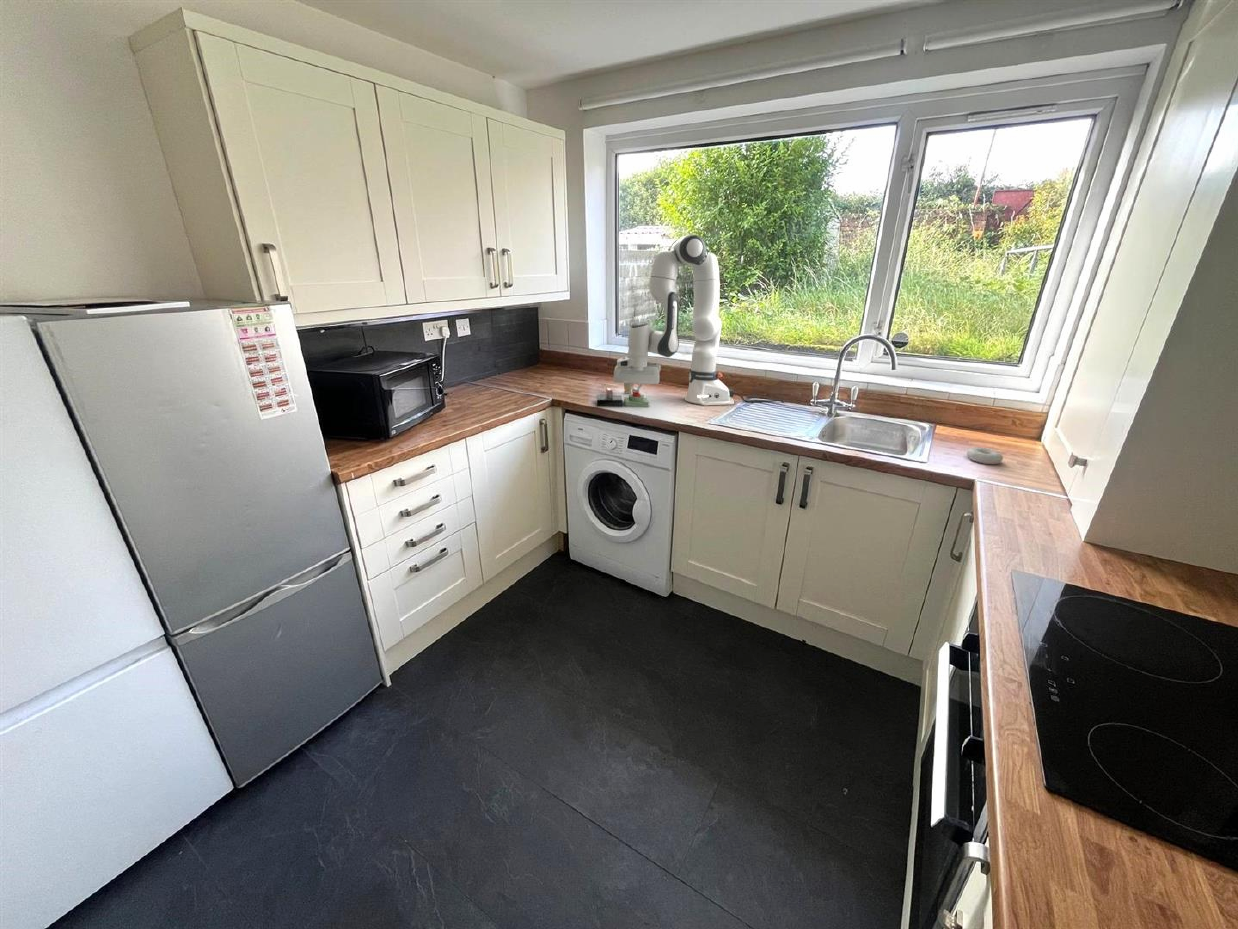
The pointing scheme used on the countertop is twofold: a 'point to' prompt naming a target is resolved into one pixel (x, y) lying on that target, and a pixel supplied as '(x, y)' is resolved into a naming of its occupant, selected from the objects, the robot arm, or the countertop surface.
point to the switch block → (635, 401)
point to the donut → (984, 455)
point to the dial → (609, 393)
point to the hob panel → (609, 401)
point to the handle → (627, 388)
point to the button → (636, 394)
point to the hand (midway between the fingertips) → (635, 393)
